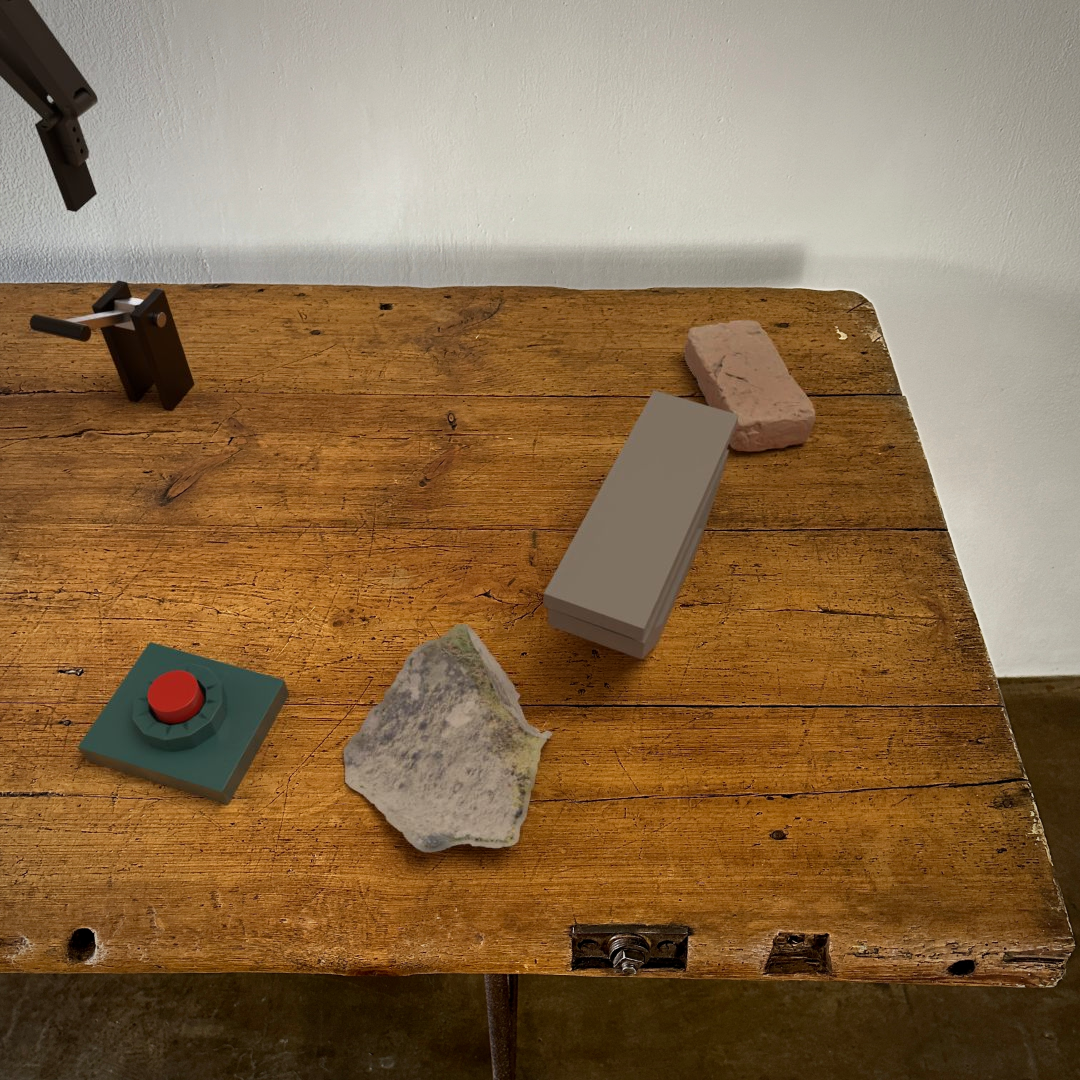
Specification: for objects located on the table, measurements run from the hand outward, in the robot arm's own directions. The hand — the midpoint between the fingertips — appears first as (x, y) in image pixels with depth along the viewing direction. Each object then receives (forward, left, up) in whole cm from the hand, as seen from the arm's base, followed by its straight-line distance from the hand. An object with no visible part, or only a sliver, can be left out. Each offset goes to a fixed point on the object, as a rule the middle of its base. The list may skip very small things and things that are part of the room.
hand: (3, 187), depth 74 cm
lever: (0, +4, -16) cm, 17 cm away
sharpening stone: (+52, 0, -29) cm, 59 cm away
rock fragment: (+42, -21, -29) cm, 55 cm away
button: (+22, -25, -25) cm, 41 cm away
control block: (+22, -25, -29) cm, 44 cm away
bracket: (0, +8, -29) cm, 30 cm away
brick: (+57, +27, -29) cm, 69 cm away
